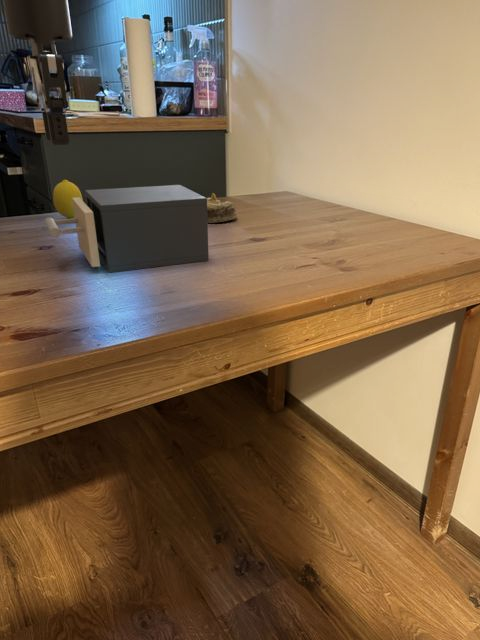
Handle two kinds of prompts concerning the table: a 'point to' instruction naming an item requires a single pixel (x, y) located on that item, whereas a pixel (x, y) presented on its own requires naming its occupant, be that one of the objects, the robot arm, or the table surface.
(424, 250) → the table surface
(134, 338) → the table surface
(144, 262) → the cabinet
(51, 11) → the robot arm
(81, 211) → the drawer
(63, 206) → the lemon
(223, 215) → the cake
